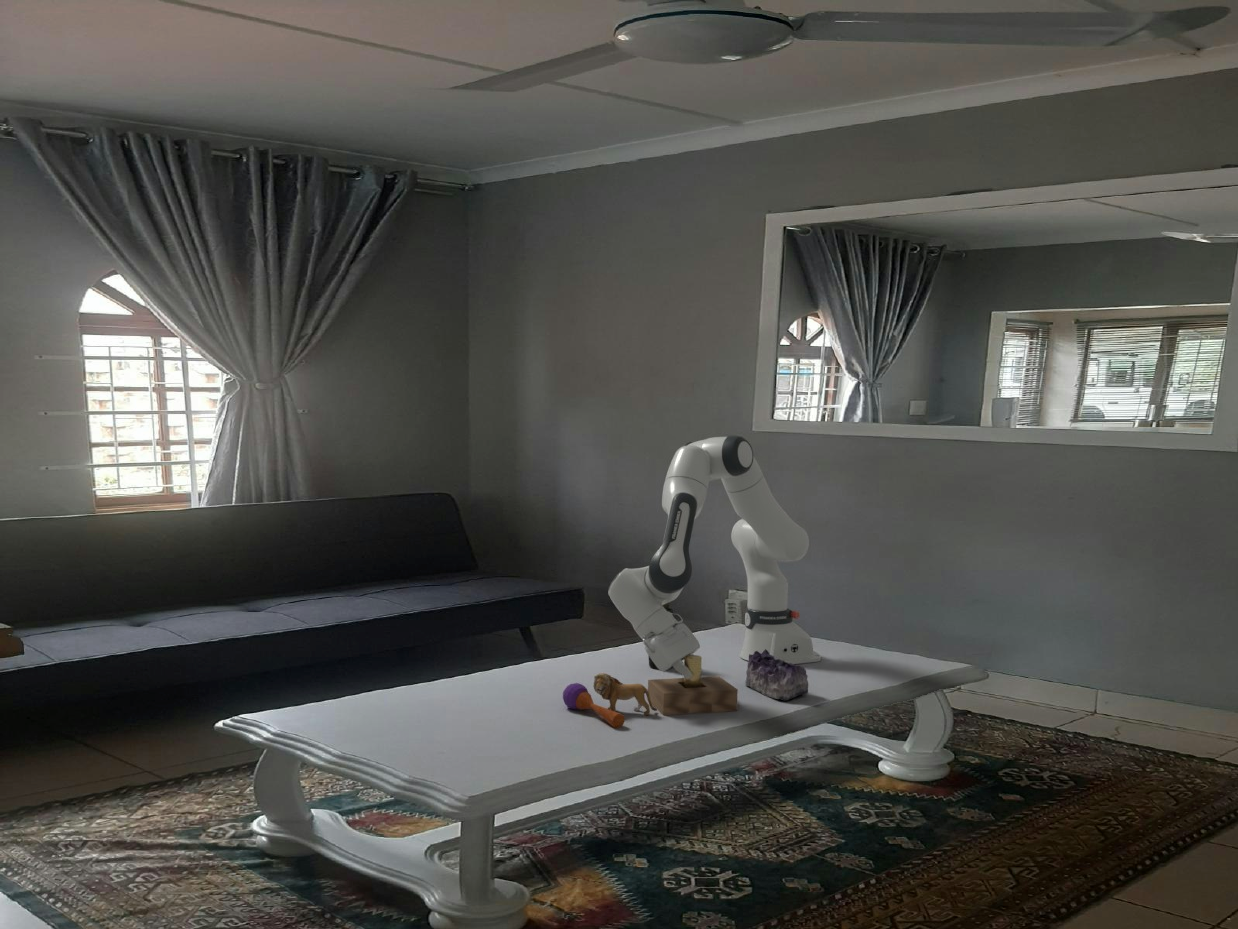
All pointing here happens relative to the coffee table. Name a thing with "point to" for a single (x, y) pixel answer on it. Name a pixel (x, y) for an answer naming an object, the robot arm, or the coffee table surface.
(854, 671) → the coffee table surface
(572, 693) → the purple and orange maraca
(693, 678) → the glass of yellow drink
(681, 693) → the walnut hole block
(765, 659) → the geode
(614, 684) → the lion figurine
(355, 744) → the coffee table surface
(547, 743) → the coffee table surface
